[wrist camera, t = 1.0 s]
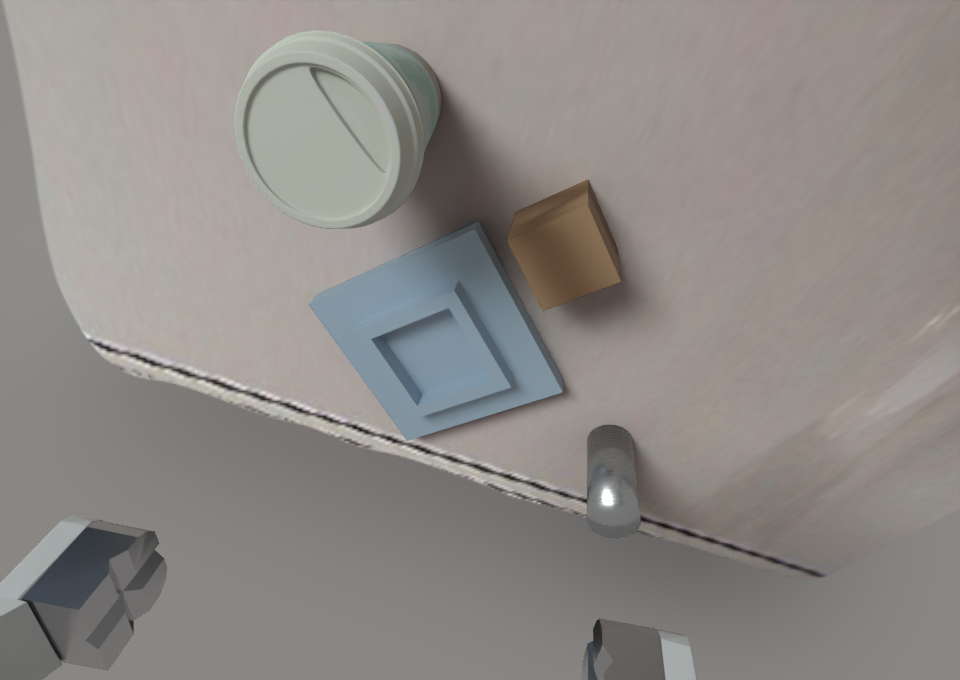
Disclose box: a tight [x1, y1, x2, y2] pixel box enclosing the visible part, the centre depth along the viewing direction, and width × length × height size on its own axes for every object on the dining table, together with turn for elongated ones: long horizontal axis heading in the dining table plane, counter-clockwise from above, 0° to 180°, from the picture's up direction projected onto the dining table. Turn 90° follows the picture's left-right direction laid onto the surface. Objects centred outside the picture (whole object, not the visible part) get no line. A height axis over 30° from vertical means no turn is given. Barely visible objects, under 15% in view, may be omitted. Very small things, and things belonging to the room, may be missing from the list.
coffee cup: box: [234, 31, 442, 229], centre depth 29 cm, size 8×9×12 cm
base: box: [309, 221, 564, 441], centre depth 42 cm, size 14×14×3 cm
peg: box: [587, 425, 641, 538], centre depth 43 cm, size 4×4×8 cm
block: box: [507, 180, 621, 311], centre depth 35 cm, size 5×5×5 cm
